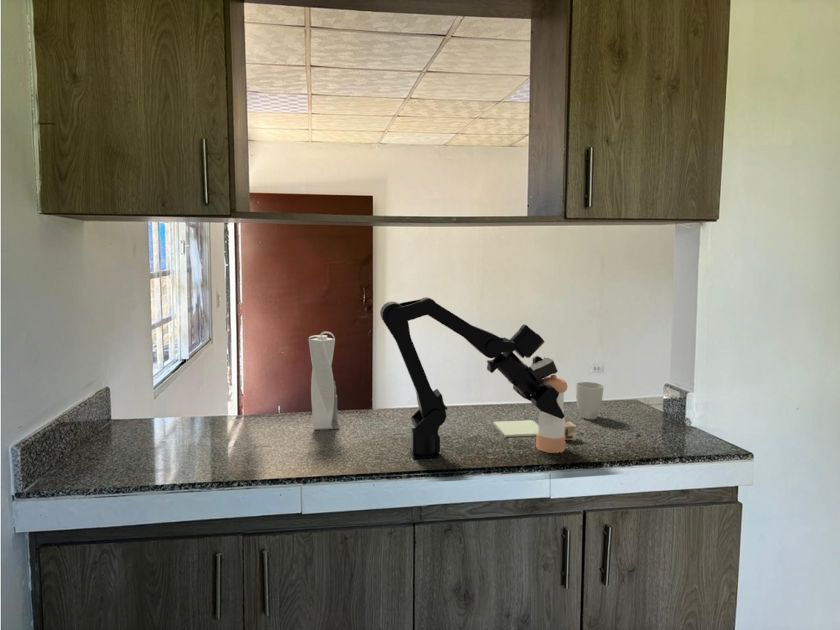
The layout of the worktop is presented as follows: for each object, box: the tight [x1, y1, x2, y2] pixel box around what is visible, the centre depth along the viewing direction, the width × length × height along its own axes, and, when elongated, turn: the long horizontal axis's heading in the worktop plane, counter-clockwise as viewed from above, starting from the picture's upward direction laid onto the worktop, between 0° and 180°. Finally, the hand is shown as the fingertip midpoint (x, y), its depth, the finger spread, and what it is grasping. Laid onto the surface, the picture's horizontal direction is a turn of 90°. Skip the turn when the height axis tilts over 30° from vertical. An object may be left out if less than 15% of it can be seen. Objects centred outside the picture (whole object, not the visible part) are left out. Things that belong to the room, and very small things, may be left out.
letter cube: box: [564, 421, 577, 441], centre depth 151 cm, size 4×4×4 cm
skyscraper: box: [308, 331, 340, 431], centre depth 158 cm, size 8×8×28 cm
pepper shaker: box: [535, 374, 568, 454], centre depth 143 cm, size 7×7×19 cm
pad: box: [492, 419, 538, 438], centre depth 159 cm, size 12×12×1 cm
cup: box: [575, 381, 605, 420], centre depth 171 cm, size 8×8×10 cm
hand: (556, 412), depth 143 cm, fingers open, 9 cm apart
